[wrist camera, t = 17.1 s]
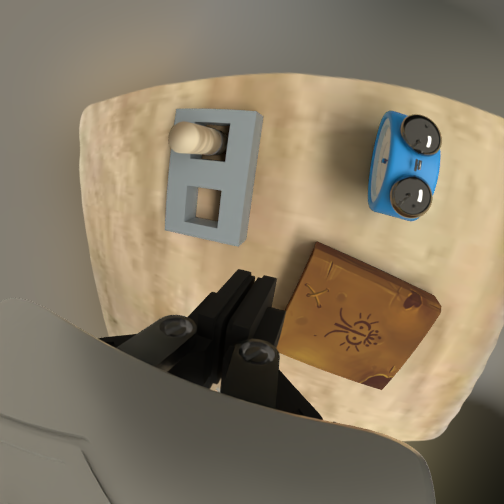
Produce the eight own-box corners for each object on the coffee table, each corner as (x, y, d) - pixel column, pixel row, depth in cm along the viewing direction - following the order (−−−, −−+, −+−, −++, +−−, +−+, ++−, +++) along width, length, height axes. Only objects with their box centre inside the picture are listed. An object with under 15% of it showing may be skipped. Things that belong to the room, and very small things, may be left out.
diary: (432, 293, 39) (443, 308, 33) (379, 370, 46) (381, 390, 40) (316, 239, 42) (315, 250, 36) (274, 330, 49) (267, 348, 43)
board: (246, 239, 44) (238, 246, 41) (177, 225, 47) (164, 230, 44) (263, 116, 38) (256, 111, 34) (188, 112, 40) (176, 108, 37)
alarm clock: (376, 119, 33) (401, 94, 19) (414, 130, 32) (455, 114, 18) (362, 203, 38) (380, 222, 24) (399, 213, 36) (434, 237, 23)
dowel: (235, 149, 40) (202, 144, 29) (213, 160, 42) (174, 159, 31) (226, 126, 40) (190, 114, 29) (204, 137, 41) (163, 130, 30)
